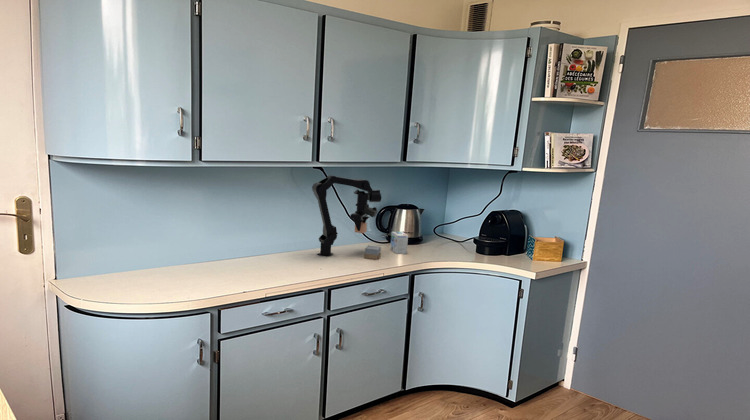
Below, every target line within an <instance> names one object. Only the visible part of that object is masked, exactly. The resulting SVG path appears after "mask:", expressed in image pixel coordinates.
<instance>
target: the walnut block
mask: <svg viewBox="0 0 750 420" xmlns="http://www.w3.org/2000/svg"><path fill="white" fill-rule="evenodd" d="M381 255H382V252H380V253H379V254H378V255H371V254H365V252H364V254H363V258H364V259H367V260H373V261H377V260H379V259H380V258H381V257H382V256H381Z"/></svg>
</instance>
